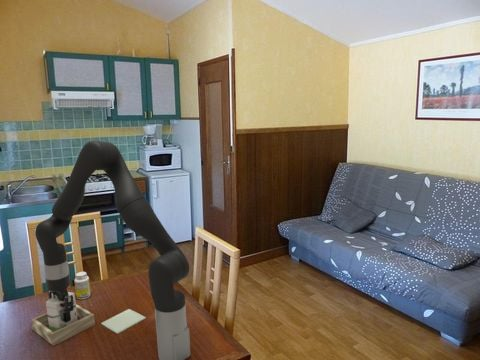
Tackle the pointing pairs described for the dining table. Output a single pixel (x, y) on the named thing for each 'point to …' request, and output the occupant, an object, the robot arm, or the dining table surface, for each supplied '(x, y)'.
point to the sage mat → (123, 321)
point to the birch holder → (64, 332)
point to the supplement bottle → (82, 285)
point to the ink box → (59, 313)
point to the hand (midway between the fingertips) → (62, 318)
